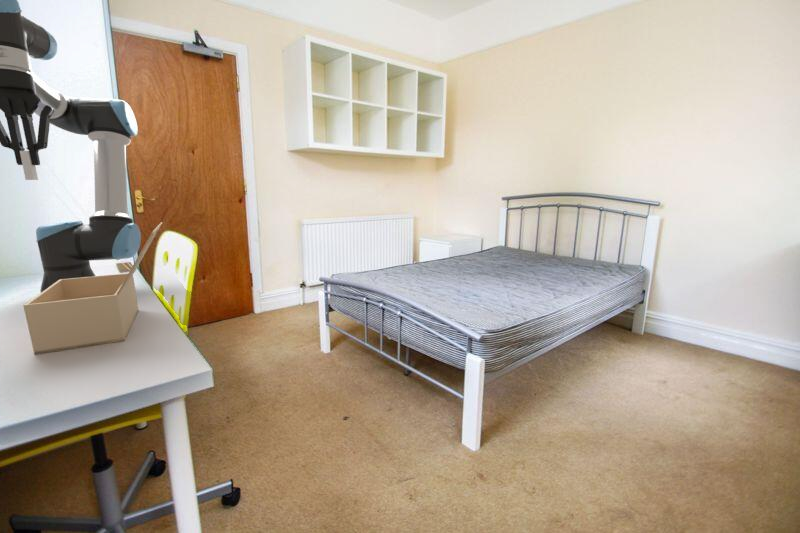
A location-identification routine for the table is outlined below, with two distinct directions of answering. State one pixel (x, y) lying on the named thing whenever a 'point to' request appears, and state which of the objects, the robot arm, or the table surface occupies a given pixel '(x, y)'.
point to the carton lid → (140, 257)
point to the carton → (81, 313)
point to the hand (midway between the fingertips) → (31, 179)
